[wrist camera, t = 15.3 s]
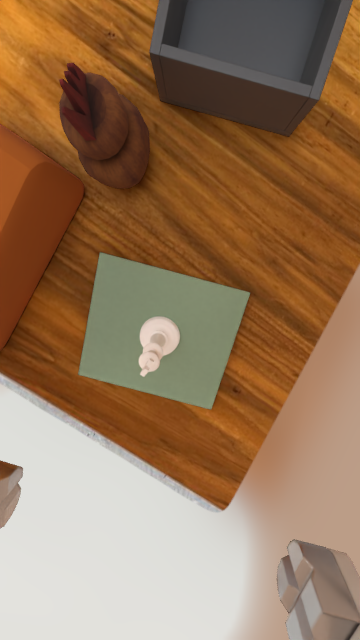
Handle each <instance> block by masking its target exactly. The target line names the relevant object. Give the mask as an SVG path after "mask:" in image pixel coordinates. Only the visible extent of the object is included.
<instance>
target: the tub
mask: <svg viewBox="0 0 360 640" xmlns="http://www.w3.org/2000/svg"><path fill="white" fill-rule="evenodd" d="M352 1H353V0H159V4H158V9H157V15H156V20H155V25H154V31H153V36H152V41H151V47H150V57H151V61H152V65H153V70H154V74H155V79H156V83H157V88H158V92H159V97H160V101H163V102H167V103H170V104H174V105H177V106H181V107H184V108H188V109H192V110H195V111H199V112H202V113H206V114H209V115H213V116H217V117H220V118H224V119H227V120H231V121H235V122H238V123H242V124H245V125H249V126H252V127H256V128H260V129H263V130H267V131H270V132H274V133H278V134H281V135H285V136H288V137H289V136H290V135H291V134H292V132H293V131H294V130H295V129H296V127H297V126H298V125H299V124H300V123H301V121H302V120H303V119H304V118H305V116H306V115H307V114H308V113H309V112H310V110H311V109H312V108H313V107H314V106H315V104H316V103H317V102H318V101H319V99H320V96H321V93H322V90H323V87H324V84H325V81H326V78H327V75H328V72H329V69H330V66H331V63H332V60H333V58H334V55H335V52H336V49H337V46H338V43H339V40H340V37H341V34H342V31H343V28H344V25H345V22H346V19H347V16H348V13H349V10H350V7H351V4H352Z"/></svg>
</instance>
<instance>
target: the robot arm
mask: <svg viewBox="0 0 360 640" xmlns="http://www.w3.org/2000/svg"><path fill="white" fill-rule="evenodd" d="M22 475H23V468H22V467H20V466H17V465H13V464H10V463H7V462H3V461H0V528H2V527H3V526H4V525H5V524H6V522H7V521H8V519H9V518H10V517H11V515H12V513H13V511H14V509H15V507H16V505H17V503H18V500H19V497H20V492H21V488H20V486H19V484H18V482H19V480H20V479H21V478H22ZM287 549H288V553H289V555H287V556H285V557H283V558H282V559H281V561H280V564H279V566H278V571H277V586H278V592H279V597H280V601H281V602H282V604H283V606H284V607H285V608H286V610H287V612H288V616H287V620H286V627H287V631H288V636H289V640H360V577H359V575H358V573H357V571H356V569H355V567H354V564H353V562H352V561H351V559H350V557H349V556H348V555H347V554H346V553H343V552H339V551H336V550H332V549H328V548H326V547H322V546H318V545H314V544H310V543H306V542H302V541H298V540H292V541H290V543H289V545H288V547H287Z"/></svg>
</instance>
